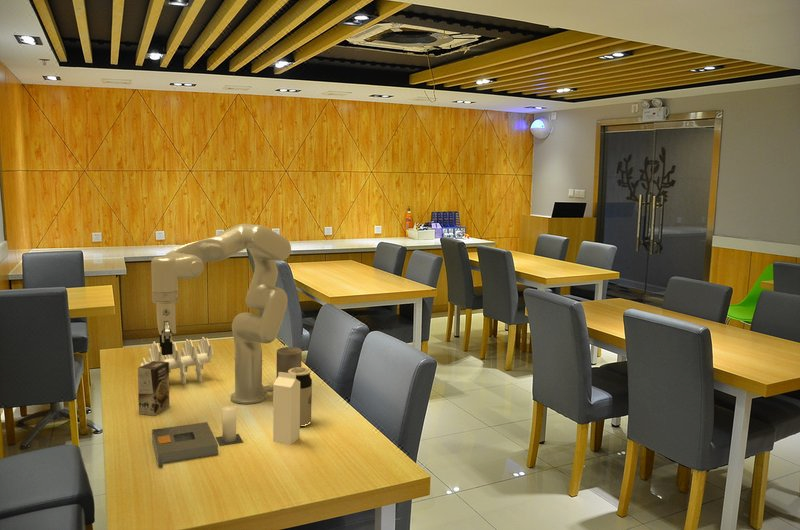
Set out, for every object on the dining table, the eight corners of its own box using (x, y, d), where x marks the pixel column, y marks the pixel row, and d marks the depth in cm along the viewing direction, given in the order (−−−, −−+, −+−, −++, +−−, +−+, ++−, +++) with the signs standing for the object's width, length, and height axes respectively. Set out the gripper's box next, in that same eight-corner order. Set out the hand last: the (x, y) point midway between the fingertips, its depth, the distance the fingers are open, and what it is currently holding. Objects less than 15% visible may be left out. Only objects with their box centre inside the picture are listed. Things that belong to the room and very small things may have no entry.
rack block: (207, 434, 196) (207, 421, 195) (217, 457, 180) (217, 443, 179) (152, 442, 188) (152, 429, 188) (158, 467, 173) (158, 453, 172)
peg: (234, 436, 192) (234, 405, 191) (237, 441, 189) (237, 409, 187) (221, 438, 191) (221, 406, 189) (223, 443, 187) (223, 411, 186)
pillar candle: (279, 379, 250) (279, 343, 248) (303, 380, 250) (303, 344, 247) (273, 388, 240) (273, 350, 238) (299, 389, 240) (299, 351, 238)
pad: (238, 436, 194) (238, 433, 194) (243, 445, 188) (243, 442, 188) (215, 440, 191) (215, 437, 191) (219, 449, 185) (219, 446, 185)
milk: (282, 437, 195) (283, 368, 192) (300, 440, 193) (300, 371, 191) (272, 444, 190) (273, 374, 187) (290, 448, 188) (291, 376, 185)
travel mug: (282, 425, 204) (282, 372, 202) (294, 417, 212) (294, 365, 209) (303, 429, 202) (304, 375, 199) (315, 421, 209) (316, 368, 207)
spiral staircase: (141, 395, 238) (207, 383, 251) (148, 389, 224) (218, 376, 237) (134, 349, 242) (200, 338, 255) (140, 339, 227) (209, 329, 240)
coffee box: (155, 416, 209) (154, 369, 206) (138, 414, 210) (136, 367, 208) (170, 406, 218) (169, 361, 215) (153, 404, 219) (152, 359, 217)
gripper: (180, 301, 187) (181, 357, 189) (175, 291, 202) (176, 342, 205) (153, 302, 184) (154, 359, 186) (150, 292, 199) (152, 344, 202)
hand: (166, 350), depth 195 cm, fingers open, 9 cm apart
